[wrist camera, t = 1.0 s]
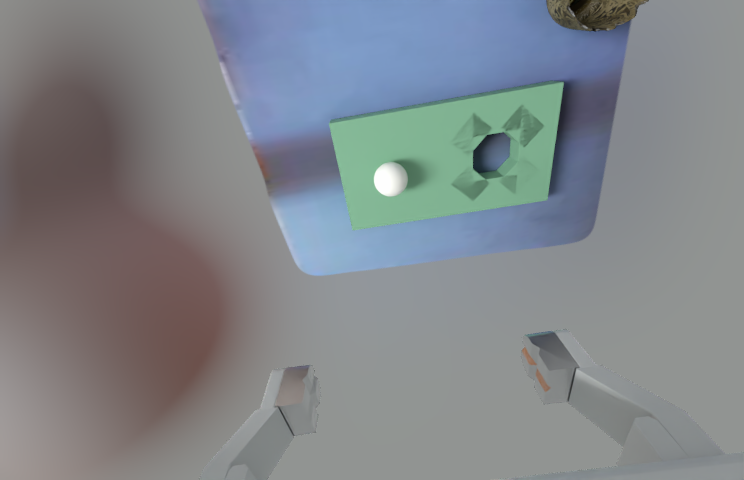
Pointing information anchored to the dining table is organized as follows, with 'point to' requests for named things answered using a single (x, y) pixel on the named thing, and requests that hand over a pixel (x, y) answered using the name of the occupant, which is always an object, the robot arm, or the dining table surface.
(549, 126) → the putting mat
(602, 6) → the cup
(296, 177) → the dining table surface
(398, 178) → the ball
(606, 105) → the dining table surface
